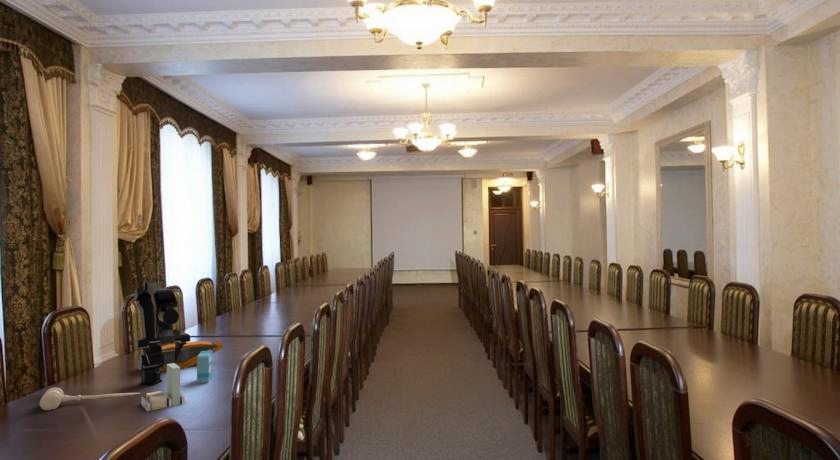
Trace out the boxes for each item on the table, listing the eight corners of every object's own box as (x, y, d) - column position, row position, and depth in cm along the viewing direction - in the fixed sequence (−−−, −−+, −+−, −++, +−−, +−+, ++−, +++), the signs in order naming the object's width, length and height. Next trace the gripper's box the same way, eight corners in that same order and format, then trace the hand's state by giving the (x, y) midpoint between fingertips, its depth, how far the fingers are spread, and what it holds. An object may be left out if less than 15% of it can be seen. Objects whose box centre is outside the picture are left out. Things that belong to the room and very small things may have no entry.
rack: (140, 406, 185) (140, 396, 185) (179, 399, 193) (179, 389, 194) (147, 413, 178) (147, 403, 178) (187, 406, 186) (187, 396, 186)
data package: (208, 385, 212) (208, 355, 212) (196, 386, 210) (196, 356, 211) (212, 377, 223) (212, 349, 223) (201, 378, 222) (201, 350, 222)
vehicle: (225, 363, 248) (225, 342, 248) (145, 374, 229) (145, 351, 229) (218, 357, 260) (218, 337, 260) (141, 367, 241) (141, 345, 241)
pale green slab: (166, 399, 190) (166, 364, 190) (173, 398, 191) (174, 363, 191) (172, 405, 184) (172, 368, 184) (179, 403, 185) (180, 367, 185)
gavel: (143, 398, 203) (43, 403, 189) (144, 383, 203) (45, 386, 189) (142, 406, 194) (37, 412, 179) (143, 390, 194) (39, 394, 180)
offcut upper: (146, 398, 186) (146, 393, 186) (161, 395, 189) (161, 390, 189) (151, 404, 179) (151, 398, 179) (166, 401, 182) (166, 396, 182)
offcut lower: (146, 403, 185) (146, 398, 186) (161, 400, 189) (161, 395, 189) (151, 409, 179) (151, 404, 179) (166, 406, 182) (166, 401, 182)
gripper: (141, 327, 190) (141, 370, 189) (194, 321, 202) (194, 362, 201) (134, 323, 198) (134, 364, 198) (186, 318, 210) (186, 357, 210)
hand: (163, 362), depth 201 cm, fingers open, 9 cm apart
